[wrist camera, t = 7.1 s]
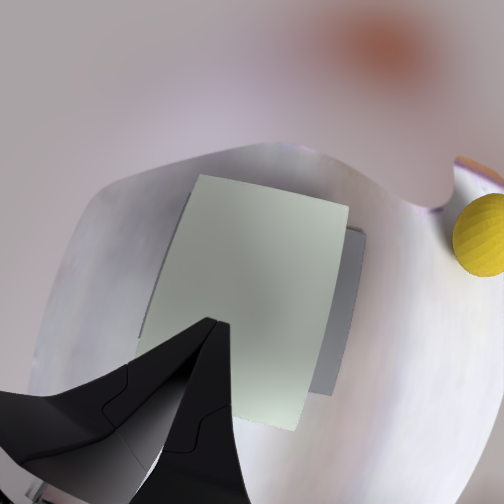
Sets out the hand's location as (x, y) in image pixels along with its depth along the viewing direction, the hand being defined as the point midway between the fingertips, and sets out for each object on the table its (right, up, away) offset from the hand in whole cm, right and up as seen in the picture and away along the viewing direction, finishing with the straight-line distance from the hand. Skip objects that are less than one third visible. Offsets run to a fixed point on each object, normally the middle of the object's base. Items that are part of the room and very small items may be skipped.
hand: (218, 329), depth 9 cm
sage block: (-1, -5, +4) cm, 7 cm away
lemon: (+18, +2, +9) cm, 20 cm away
